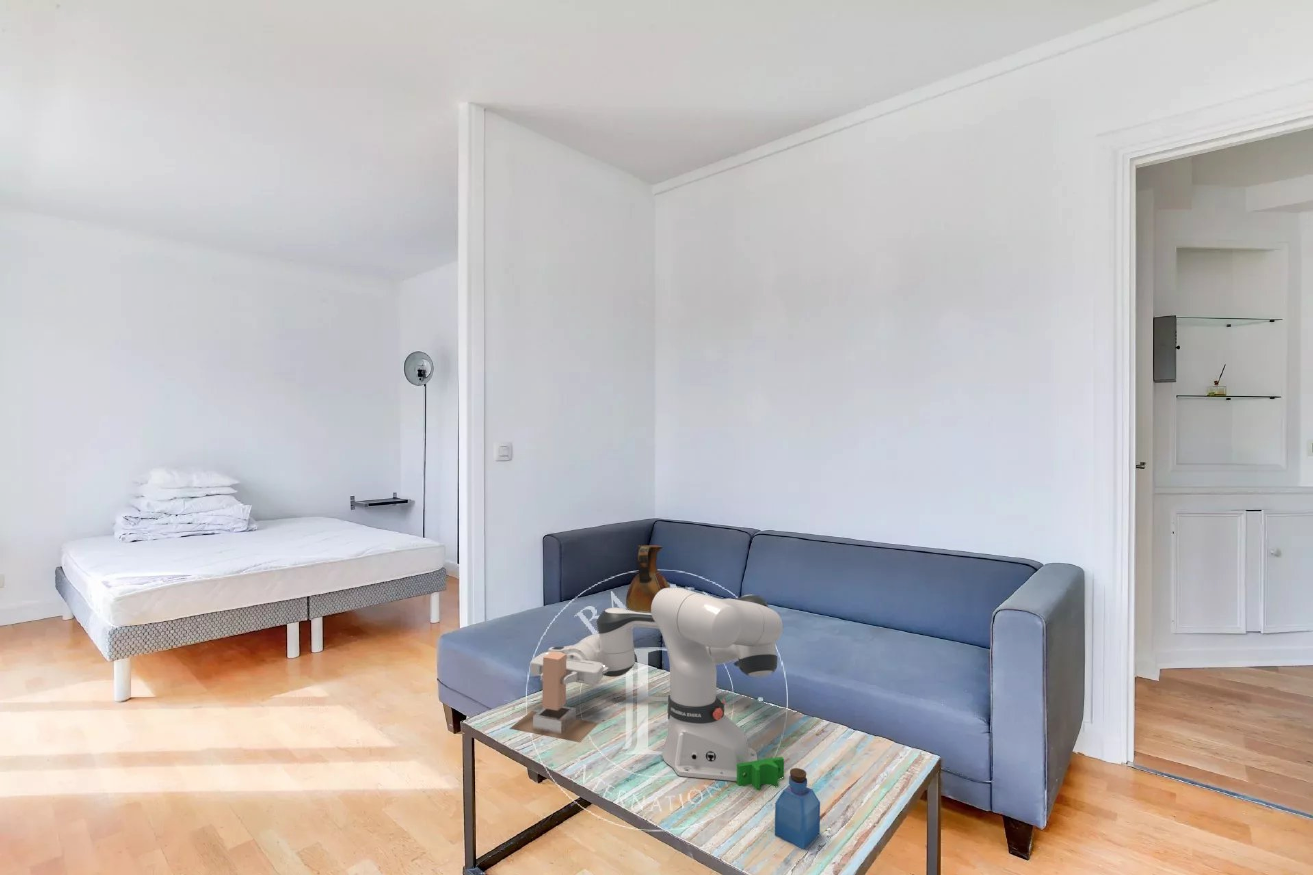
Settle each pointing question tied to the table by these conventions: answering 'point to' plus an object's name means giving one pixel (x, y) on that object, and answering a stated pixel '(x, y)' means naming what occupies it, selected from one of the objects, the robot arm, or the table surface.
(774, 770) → the pipe clamp
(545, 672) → the tall rectangular block
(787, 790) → the perfume bottle
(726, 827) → the table surface
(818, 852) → the table surface
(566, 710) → the square metal frame
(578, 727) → the holder base
